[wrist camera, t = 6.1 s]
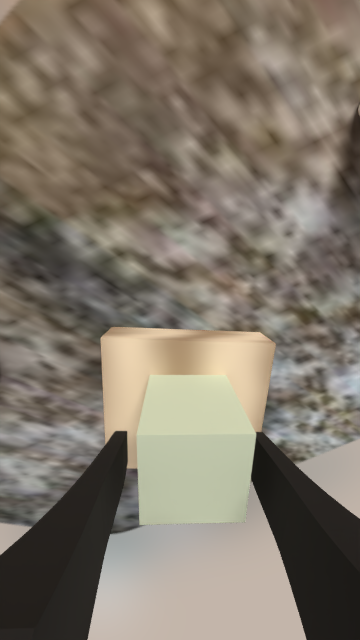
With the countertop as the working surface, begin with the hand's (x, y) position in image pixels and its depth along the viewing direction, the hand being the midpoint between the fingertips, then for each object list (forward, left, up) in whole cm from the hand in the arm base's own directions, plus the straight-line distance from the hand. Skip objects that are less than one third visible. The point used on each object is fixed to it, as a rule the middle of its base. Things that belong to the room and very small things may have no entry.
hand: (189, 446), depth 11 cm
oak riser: (0, 0, -6) cm, 6 cm away
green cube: (0, 0, -3) cm, 3 cm away
